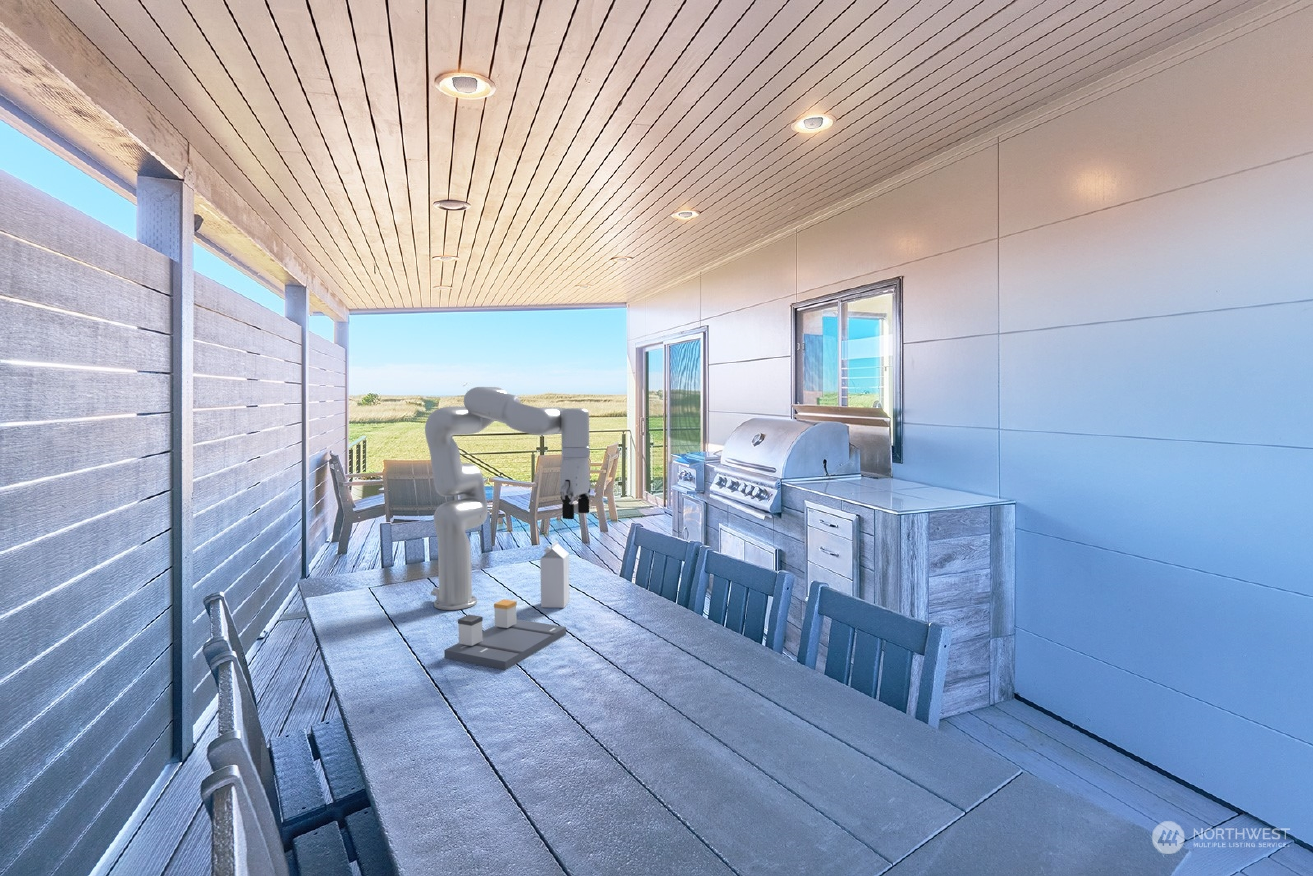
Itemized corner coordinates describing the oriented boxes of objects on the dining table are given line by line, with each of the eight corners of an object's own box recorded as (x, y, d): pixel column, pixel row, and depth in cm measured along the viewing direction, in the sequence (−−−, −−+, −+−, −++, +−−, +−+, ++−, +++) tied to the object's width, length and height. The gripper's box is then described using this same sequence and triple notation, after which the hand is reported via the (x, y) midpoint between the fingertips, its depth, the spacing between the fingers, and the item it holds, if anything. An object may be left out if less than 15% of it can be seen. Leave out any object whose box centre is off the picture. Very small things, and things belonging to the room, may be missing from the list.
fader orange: (494, 626, 180) (493, 603, 179) (504, 621, 183) (503, 599, 183) (507, 628, 178) (506, 605, 177) (517, 623, 182) (516, 601, 181)
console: (444, 658, 164) (444, 649, 164) (510, 625, 187) (510, 617, 187) (505, 670, 156) (505, 661, 156) (566, 634, 180) (566, 626, 180)
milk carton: (569, 601, 209) (568, 540, 208) (564, 608, 202) (563, 545, 201) (547, 600, 210) (546, 540, 209) (540, 608, 203) (539, 545, 202)
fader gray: (458, 643, 167) (457, 619, 166) (469, 638, 171) (469, 614, 170) (471, 646, 165) (471, 621, 165) (483, 640, 169) (482, 616, 169)
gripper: (576, 450, 194) (577, 510, 195) (548, 455, 178) (549, 520, 179) (600, 451, 192) (601, 511, 193) (574, 456, 176) (575, 522, 177)
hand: (576, 515), depth 186 cm, fingers open, 9 cm apart
